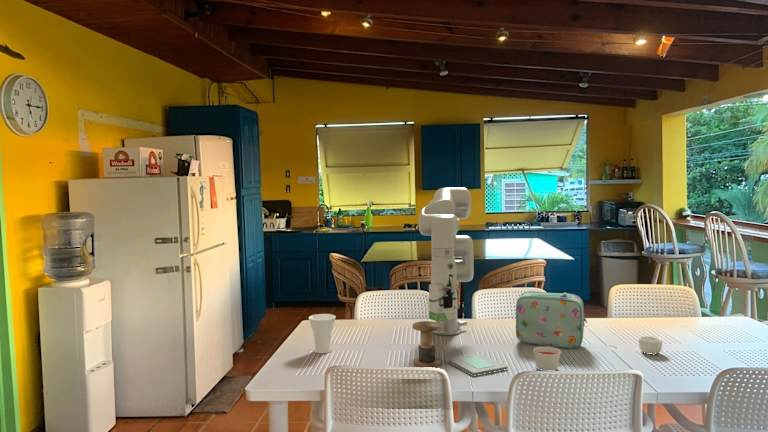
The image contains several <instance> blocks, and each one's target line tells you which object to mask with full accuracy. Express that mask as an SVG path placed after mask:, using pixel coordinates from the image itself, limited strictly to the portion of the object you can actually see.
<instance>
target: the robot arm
mask: <svg viewBox="0 0 768 432" xmlns="http://www.w3.org/2000/svg"><path fill="white" fill-rule="evenodd" d="M471 213H472V196H471V192H470V190H469V189H468V188H466V187H441V188H438V189H437V190H436V191H435V192H434V194H433V199H431V200H429V202H428V205H425V206H424V207H423V208H422V209H421V210H420V213H419V217H418V223H417V225H418V231H419V232H420V234H421V235H422V236H426V237H427V236H428V237H429V236H430V237H431V242H430V243H431V247H430V248H431V263H430V264H431V265H430V284H437V285H440V286H442V287H443V289H444V295H445V296H443V301H444V308H445V309H446V308H452V307H453V293H454V291H455V290H456V306H457V307H458V291H457V286H458V283H468V282H471V281H472V280H473V278H474V274H475V269H474V267H475V266H474V264H475V262H474V259H475V257H474V241H473V238H471V236H470V235H465V234H464V235H463V234H462V235H460V234H459V235H457V234H458V231H460V227H461V223H460V220H465V219H468V218H469V217H470V216H471ZM457 258H461V259H457ZM447 285H449V287H447ZM447 289H449V290H448V291H447ZM435 322H437V323H440V324H441V328H440V329H439V330H435V331H433V334H435V335H441V336H455V335H458V334H461V333H462V328H461V327H465V326H467V325H468V323H467V321H466V320H464V321H461V320H458V317H457V318H454V319H449V320H443V321H435Z"/></svg>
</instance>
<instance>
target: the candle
mask: <svg viewBox="0 0 768 432" xmlns="http://www.w3.org/2000/svg"><path fill="white" fill-rule="evenodd" d="M561 353H562V352H561V350H560V349H558V347H548V346H536V347H534V348H533V355H534V361H535V366H536V368H537V367H538V368H539V369H542V370H556V369H557V370H558V368H559V365H560V364H559V363H560V358H561ZM538 368H537V369H538ZM539 369H538V370H539ZM542 370H541V371H542ZM557 370H556V371H557Z"/></svg>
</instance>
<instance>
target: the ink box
mask: <svg viewBox="0 0 768 432" xmlns="http://www.w3.org/2000/svg"><path fill="white" fill-rule="evenodd" d="M447 287H449V285H447ZM448 290H449V289H447V291H448ZM456 291H457V289H456V290H455V291H454V293H453V307H452V308H446V309H445V308H444V301H443V296H445V295H444V289H443V287H442V286H440V285H437V284H431V283H430V284H428V319H429V320H432V321H434V322H436V321H443V320H449V319H454V318H457V319H458V305H457V306H456Z"/></svg>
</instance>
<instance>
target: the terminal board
mask: <svg viewBox="0 0 768 432" xmlns="http://www.w3.org/2000/svg"><path fill="white" fill-rule="evenodd" d="M448 362H449V363H448ZM447 363H448V364H450V365H452V364H453V365H452V366H454V365H455V366H457V367H458V368H457V367H456V368H457V369H459V368H460V369H459V370H461V369H462V370H461V371H463V370H464V371H463V372H465V371H466V372H468V373H470V374H472V375H473V376H472V375H471V376H472V377H475V376H474V375H478V374H484V373H489V372H494V371H499V370H504V369H508V365H505V364H503V363H501V362H499V361H498V360H495V359H493V358H491V357H489V356H486V355H484V354H482V353H476V354H470V355H464V356H459V357H454V358H453V357H452V358H448V359H447ZM455 366H454V367H455ZM504 371H505V370H504ZM466 372H465V373H466ZM499 372H500V371H499ZM468 373H467V374H468ZM494 373H495V372H494ZM470 374H469V375H470ZM489 374H490V373H489ZM484 375H485V374H484Z"/></svg>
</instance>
